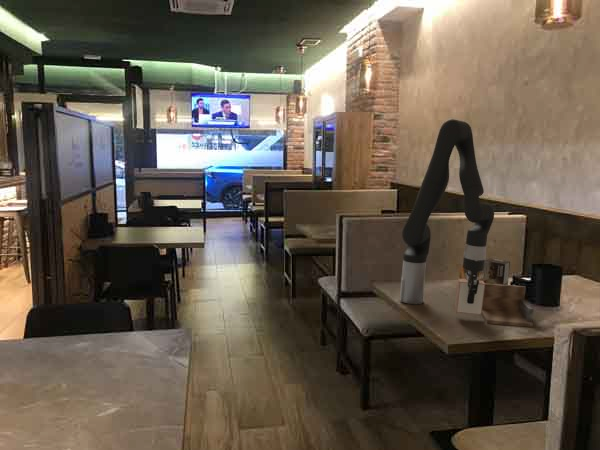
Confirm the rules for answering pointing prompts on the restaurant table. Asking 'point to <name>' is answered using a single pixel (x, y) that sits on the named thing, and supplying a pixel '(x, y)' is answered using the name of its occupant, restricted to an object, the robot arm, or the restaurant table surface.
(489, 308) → the bookend
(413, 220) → the robot arm
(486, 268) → the coffee box
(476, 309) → the boxed book
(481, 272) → the candy box
